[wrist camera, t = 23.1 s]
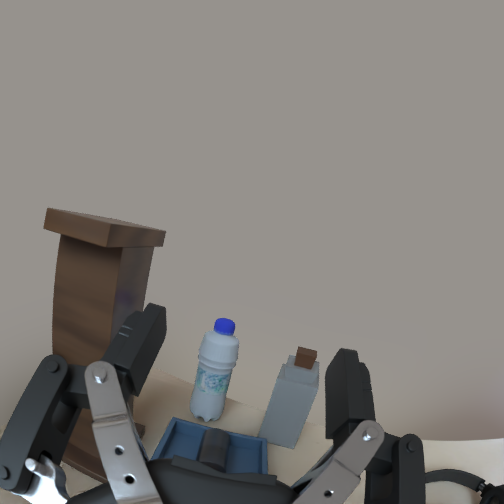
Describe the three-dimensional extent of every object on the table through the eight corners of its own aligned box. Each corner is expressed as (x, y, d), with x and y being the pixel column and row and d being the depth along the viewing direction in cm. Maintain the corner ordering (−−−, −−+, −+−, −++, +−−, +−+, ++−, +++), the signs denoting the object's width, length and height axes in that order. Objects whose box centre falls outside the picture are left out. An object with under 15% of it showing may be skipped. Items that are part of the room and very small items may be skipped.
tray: (261, 576, 12) (269, 569, 12) (114, 542, 12) (111, 533, 12) (262, 450, 38) (267, 438, 38) (171, 429, 38) (172, 416, 38)
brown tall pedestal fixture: (110, 486, 21) (121, 225, 20) (48, 452, 21) (40, 205, 20) (144, 432, 35) (173, 232, 34) (92, 409, 35) (108, 217, 34)
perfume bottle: (256, 439, 41) (284, 353, 40) (264, 420, 47) (289, 340, 47) (293, 449, 39) (327, 363, 39) (297, 429, 46) (326, 350, 45)
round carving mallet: (214, 554, 15) (218, 541, 15) (173, 546, 15) (173, 532, 15) (228, 449, 36) (232, 431, 36) (200, 444, 36) (203, 425, 36)
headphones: (476, 533, 8) (397, 471, 27) (443, 567, 7) (379, 503, 26) (528, 486, 10) (459, 451, 29) (504, 520, 9) (443, 481, 28)
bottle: (203, 401, 50) (223, 311, 49) (229, 417, 46) (253, 324, 46) (180, 410, 44) (197, 313, 44) (206, 429, 41) (229, 329, 40)
